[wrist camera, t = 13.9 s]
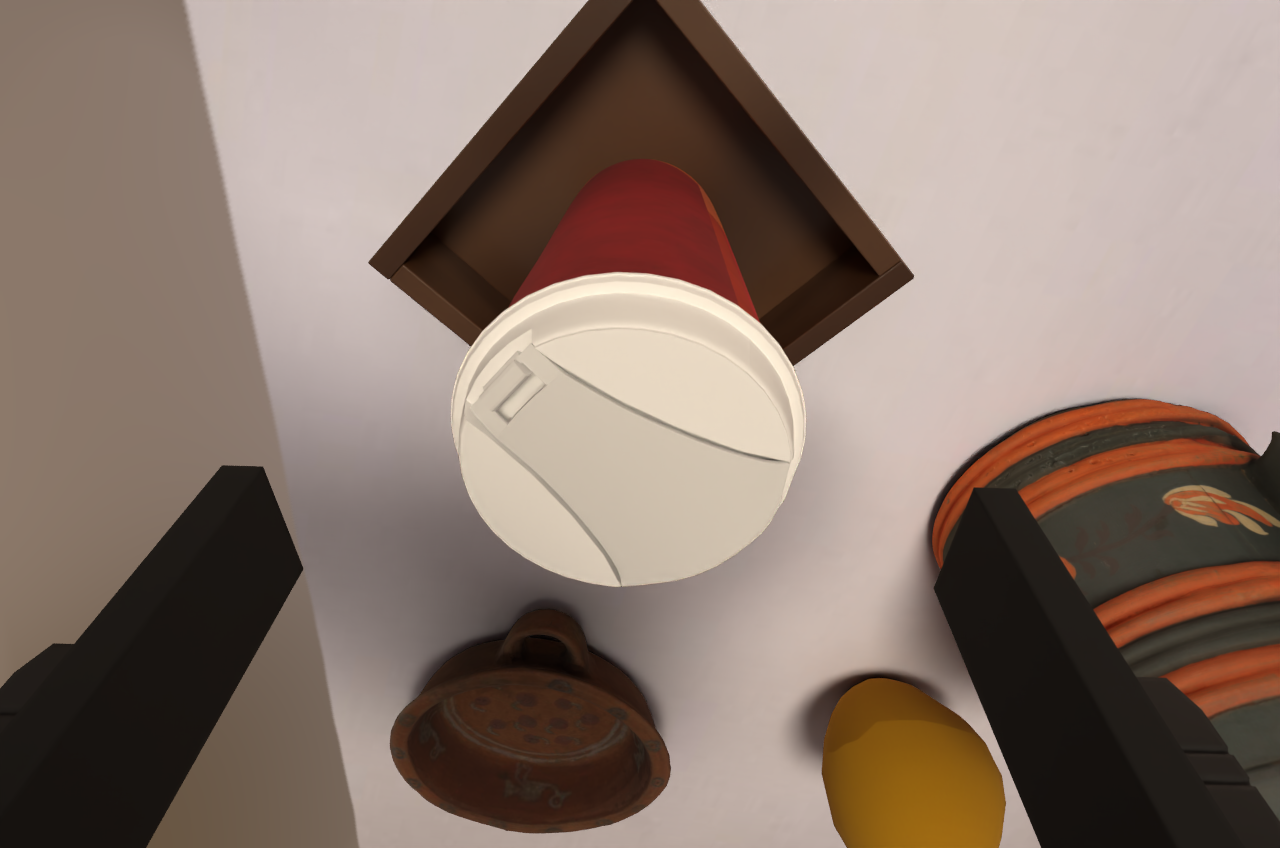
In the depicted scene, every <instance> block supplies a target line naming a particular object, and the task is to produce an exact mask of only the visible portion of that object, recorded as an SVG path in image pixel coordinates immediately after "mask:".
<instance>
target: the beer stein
mask: <svg viewBox="0 0 1280 848" xmlns="http://www.w3.org/2000/svg"><path fill="white" fill-rule="evenodd" d="M974 487H979V488H1014V489H1016V490H1017V491H1018V493H1019V494H1020V496H1021V498H1022V499H1023V501H1024V502H1025V504H1026V505H1027V507H1028V508H1029V510H1030V512H1031V513H1032V515H1033V516H1034V518H1035V519H1036V521H1037V523H1038V524H1039V526H1040V527H1041V529H1042V530H1043V532H1044V534H1045V535H1046V537H1047V538H1048V540H1049V541H1050V543H1051V545H1052V546H1053V548H1054V549H1055V551H1056V552H1057V554H1058V555H1059V557H1060V559H1061V560H1062V562H1063V563H1064V565H1065V566H1066V568H1067V570H1068V571H1069V573H1070V574H1071V576H1072V577H1073V579H1074V581H1075V582H1076V584H1077V585H1078V587H1079V588H1080V590H1081V592H1082V593H1083V595H1084V596H1085V598H1086V599H1087V601H1088V602H1089V604H1090V606H1091V607H1092V609H1093V610H1094V612H1095V613H1096V615H1097V617H1098V618H1099V620H1100V621H1101V623H1102V624H1103V626H1104V628H1105V629H1106V631H1107V632H1108V634H1109V635H1110V637H1111V638H1112V640H1113V642H1114V643H1115V645H1116V646H1117V648H1118V649H1119V651H1120V653H1121V654H1122V656H1123V657H1124V659H1125V660H1126V662H1127V664H1128V665H1129V667H1130V668H1131V670H1132V671H1133V673H1134V675H1135V676H1136V677H1158V678H1167V679H1168V680H1169V681H1170V682H1171V683H1173V684H1174V685H1175V686H1176V687H1177V688H1178V689H1179V690H1180V691H1182V692H1183V693H1184V694H1185V695H1186V696H1187V697H1188V698H1189V699H1190V700H1192V701H1193V702H1194V703H1195V704H1196V705H1197V706H1198V707H1199V708H1201V709H1202V710H1203V712H1204V713H1205V715H1206V716H1207V717H1208V719H1209V720H1210V722H1211V723H1212V725H1213V726H1214V728H1215V729H1216V730H1217V732H1218V733H1219V735H1220V736H1221V738H1222V739H1223V740H1224V742H1225V743H1226V745H1227V746H1228V752H1229V754H1230V755H1234V756H1235V758H1236V759H1237V761H1238V762H1239V763H1240V765H1241V766H1242V768H1243V769H1244V771H1245V772H1246V773H1247V775H1248V776H1249V778H1250V779H1249V782H1250V784H1251V785H1252V786H1256V788H1257V789H1258V791H1259V792H1260V794H1261V795H1262V796H1263V798H1264V799H1265V801H1266V802H1267V804H1268V805H1269V806H1270V808H1271V809H1272V811H1273V812H1274V814H1275V815H1276V817H1277V818H1278V819H1279V821H1280V433H1278V432H1275V431H1274V432H1272V440H1271V443H1270V444H1269V446H1268V448H1267V450H1266V451H1265V452H1264V454H1263V455H1262V456H1260V455H1259V454H1257V453H1256V452H1255V451H1254V450H1253V449H1252V448H1251V447H1250V446H1249V444H1248V443H1247V442H1246V440H1245V439H1244V438H1243V437H1242V436H1241V435H1240V434H1239V433H1238V432H1237V431H1236V430H1235V429H1234V428H1233V427H1232V426H1231V425H1230V424H1229V423H1227V422H1226V421H1224V420H1222V419H1220V418H1218V417H1217V416H1215V415H1212V414H1210V413H1208V412H1204V411H1200V410H1197V409H1194V408H1192V407H1188V406H1182V405H1173V404H1171V403H1164V402H1161V401H1155V400H1147V399H1122V400H1117V401H1108V402H1106V403H1102V404H1097V405H1092V406H1086V407H1077V408H1072V409H1068V410H1065V411H1061V412H1058V413H1055V414H1052V415H1049V416H1047V417H1045V418H1042V419H1039V420H1038V421H1036V422H1034V423H1032V424H1030V425H1028V426H1026V427H1025V428H1023V429H1021V430H1019V431H1018V432H1016V433H1014V434H1013V435H1011V436H1010V437H1008V438H1007V439H1006V440H1004V441H1003V442H1001V443H999V444H998V445H996V446H995V447H994V448H992V449H991V450H989V451H988V452H987V453H986V454H985V455H983V456H982V457H981V458H980V459H978V460H977V461H976V462H975V463H974V464H973V465H972V466H971V467H970V468H969V469H968V470H967V471H966V472H965V473H964V474H963V475H962V476H961V477H960V478H959V479H958V480H957V481H956V483H955V484H954V485H953V487H952V488H951V489H950V491H949V492H948V494H947V495H946V497H945V499H944V501H943V503H942V505H941V507H940V509H939V511H938V514H937V516H936V519H935V522H934V528H933V535H932V547H933V552H934V555H935V558H936V561H937V563H938V566H939V568H940V569H941V568H942V566H943V563H944V561H945V558H946V556H947V553H948V551H949V548H950V546H951V543H952V541H953V538H954V536H955V533H956V531H957V528H958V526H959V523H960V521H961V518H962V516H963V513H964V511H965V508H966V506H967V503H968V500H969V498H970V495H971V493H972V490H973V488H974Z"/></svg>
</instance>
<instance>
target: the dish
mask: <svg viewBox="0 0 1280 848" xmlns="http://www.w3.org/2000/svg"><path fill="white" fill-rule="evenodd" d="M531 635H547V636H552V637H554V638H556V639H558V640H560V641H561V642H562V643H560V642H556V641H551V640H546V639H538V638H529V637H528V636H531ZM390 749H391V754H392V758H393V761H394V763H395V765H396V768H397V769H398V771H399V773H400V774H401V775H402V776H403V778H404V780H405V781H406V782H407V783H408V784H409V785H410V786H411V787H412V788H413V789H414V790H416V791H417V792H418V793H419V794H420V795H421V796H422V797H423V798H425V799H426V800H427V801H429V802H430V803H432V804H434V805H435V806H437V807H439V808H441V809H443V810H445V811H447V812H448V813H451V814H454V815H457V816H459V817H463V818H466V819H469V820H472V821H475V822H479V823H482V824H486V825H490V826H493V827H497V828H500V829H504V830H506V831H515V832H522V833H559V832H573V831H579V830H584V829H591V828H596V827H600V826H605V825H611V824H613V823H616V822H619V821H621V820H623V819H626V818H628V817H630V816H632V815H634V814H636V813H638V812H640V811H641V810H642V809H644V808H645V807H647V806H648V805H649V804H650V803H651V802H653V801H654V800H655V799H656V798H657V797H658V796H659V795H660V793H661V792H662V791H663V790H664V789H665V787H666V786H667V783H668V780H669V778H670V771H671V766H670V757H669V753H668V751H667V748H666V746H665V743H664V741H663V739H662V737H661V736H660V734H659V733H658V732H657V730H656V728H655V725H654V722H653V719H652V716H651V713H650V710H649V708H648V705H647V703H646V700H645V699H644V697H643V695H642V693H641V692H640V690H639V689H638V688H637V687H636V685H635V684H634V683H633V682H632V681H631V680H630V679H629V678H628V677H627V676H626V675H625V674H624V673H623V672H621V671H620V670H619V669H618V668H616V667H615V666H613V665H612V664H610V663H609V662H607V661H605V660H604V659H602V658H600V657H598V656H597V655H595V654H593V653H591V652H589V651H588V648H587V644H586V639H585V635H584V633H583V631H582V629H581V627H580V625H579V624H578V623H577V622H576V621H575V620H574V619H573V618H572V617H570V616H569V615H567V614H566V613H563V612H560V611H557V610H552V609H539V610H536V611H533V612H529V613H527V614H525V615H524V616H522V617H521V618H520V619H518V621H517V622H516V623H515V624H514V626H513V627H512V629H511V630H510V632H509V634H508V635H507V637H506V639H504V640H498V641H493V642H488V643H483V644H480V645H477V646H474V647H471V648H469V649H467V650H465V651H463V652H461V653H460V654H458V655H456V656H454V657H452V658H451V659H450V660H448V661H447V662H446V663H445V664H444V665H443V666H442V667H441V668H440V669H439V670H438V671H437V672H436V673H435V674H434V676H433V677H432V678H431V679H430V681H429V682H428V683H427V685H426V686H425V688H424V689H423V690H422V692H421V693H420V695H419V696H418V697H417V698H416V699H415V700H413V701H412V702H411V703H410V704H408V705H407V706H406V707H405V708H404V709H403V710H402V712H401V713H400V714H399V715H398V717H397V719H396V721H395V723H394V726H393V727H392V730H391V736H390Z"/></svg>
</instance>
